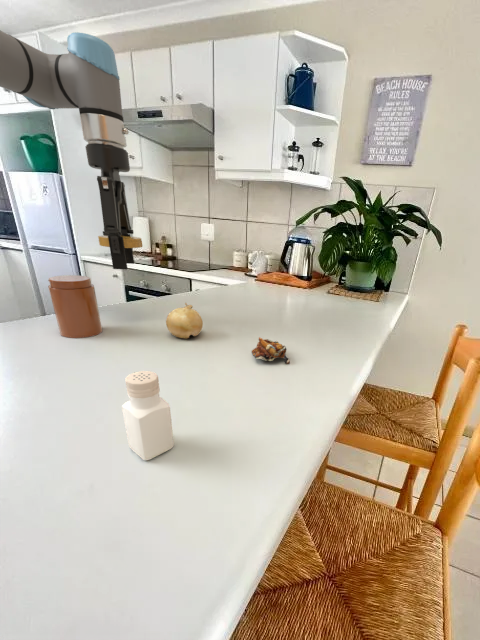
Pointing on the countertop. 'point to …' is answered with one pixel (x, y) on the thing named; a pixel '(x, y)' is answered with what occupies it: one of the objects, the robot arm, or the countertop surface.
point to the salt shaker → (147, 416)
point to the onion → (184, 322)
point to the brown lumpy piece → (270, 350)
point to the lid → (128, 240)
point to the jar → (75, 306)
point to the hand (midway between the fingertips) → (124, 265)
